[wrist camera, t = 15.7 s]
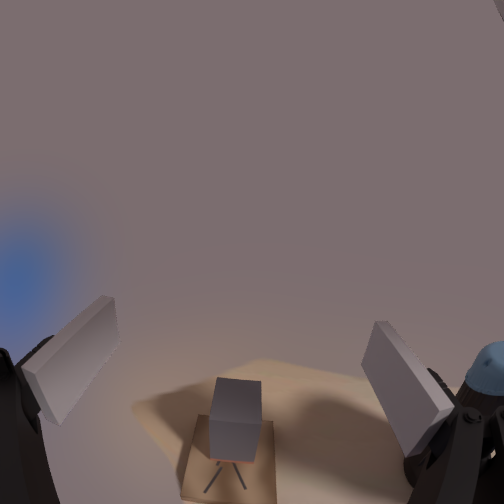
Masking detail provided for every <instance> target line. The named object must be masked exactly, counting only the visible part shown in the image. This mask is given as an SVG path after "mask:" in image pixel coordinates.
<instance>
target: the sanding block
mask: <svg viewBox="0 0 504 504" xmlns="http://www.w3.org/2000/svg"><path fill="white" fill-rule="evenodd" d="M261 425H262V403H261V381H251V380H239V379H228V378H219V377H217V380H216V385H215V391H214V396H213V401H212V406H211V411H210V417H209V441H210V460H214V461H222V462H233V463H246V464H254V460H255V455H256V450H257V446H258V441H259V436H260V431H261Z"/></svg>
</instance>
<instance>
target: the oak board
mask: <svg viewBox="0 0 504 504" xmlns="http://www.w3.org/2000/svg"><path fill="white" fill-rule="evenodd" d="M209 417H210V416H206V415H198V419H197V423H196V428H195V432H194V436H193V441H192V445H191V449H190V454H189V458H188V463H187V467H186V472H185V476H184V481H183V485H182V490H181V494H180V496H181V499H182V500H186V501H192V502H198V503H205V504H277V493H276V471H275V450H274V430H273V421H262V425H261V431H260V436H259V441H258V446H257V450H256V455H255V460H254V464H246V463H233V462H222V461H214V460H210V441H209Z"/></svg>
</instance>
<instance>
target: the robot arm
mask: <svg viewBox="0 0 504 504" xmlns="http://www.w3.org/2000/svg"><path fill="white" fill-rule="evenodd" d="M494 2H495V4H496V7H497V9H498V11H499V13H500V15H501V17H502V19H503V21H504V0H494ZM119 344H120V337H119V331H118V325H117V317H116V310H115V301H114V298H113V297H107V296H101V297H99V298H98V299H97V300H96V301H95V302H93V303H92V304H91V305H90V306H89V307H87V308H86V309H85V310H84V311H83V312H81V313H80V314H79V315H78V316H77V317H76V318H75V319H73V320H72V321H71V322H70V323H69V324H67V325H66V326H65V327H64V328H63V329H62V330H61V331H59V332H58V333H57V334H56V335H52V336H50V337H48V338H46V339H44V340H43V341H41V342H40V343H39V344H38V345H37V347H35V348H34V349H33V350H32V352H31V351H30V352H29V353H28V354H27V355H26V356H25V357H24V358H23V359H21V360H20V361H19V362H18V363H17V364H16V365H15V366H14V365H13V363H12V361H11V358H10V355H9V353H8V351H7V350H5V349H4V348H0V504H60V501H59V498H58V496H57V493H56V490H55V486H54V483H53V479H52V476H51V472H50V468H49V465H48V461H47V456H46V452H45V447H44V442H43V437H42V430H41V424H40V419H39V417H38V415H37V414H38V413H39V411H40V410H41V411H42V412H43V414H44V416H45V418H46V419H47V420H49V421H50V422H53V423H55V424H56V425H58V426H61V424H62V423H63V421H64V420H65V418H66V417H67V415H68V414H69V413H70V411H71V410H72V408H73V407H74V405H75V404H76V402H77V401H78V399H79V398H80V397H81V395H82V394H83V393H84V391H85V390H86V388H87V387H88V386H89V384H90V383H91V382H92V380H93V379H94V377H95V376H96V375H97V373H98V372H99V371H100V369H101V368H102V367H103V365H104V364H105V363H106V361H107V360H108V359H109V357H110V356H111V355H112V353H113V352H114V351H115V349H116V348H117V347H118V345H119ZM361 366H362V367H363V369H364V372H365V374H366V375H367V377H368V379H369V381H370V383H371V385H372V387H373V389H374V392H375V394H376V396H377V398H378V400H379V402H380V404H381V406H382V408H383V410H384V412H385V414H386V416H387V418H388V421H389V423H390V425H391V427H392V429H393V431H394V433H395V436H396V438H397V440H398V442H399V444H400V447H401V449H402V451H403V453H404V456H405V458H404V471H405V475H406V477H407V479H408V481H409V483H410V484H411V485H412V487H413V488H414V490H413V492H412V495H411V497H410V499H409V501H408V503H407V504H504V341H500V342H493V343H491V344H489V345H487V346H485V347H484V348H483V349H482V350H481V351H480V352H479V354H478V356H477V358H476V359H475V361H474V363H473V365H472V367H471V368H470V369H469V370H468V372H467V373H466V376H465V381H464V382H463V384H462V386H461V388H460V389H459V391H458V393H457V394H456V396H454V394H453V393H452V392H451V390H450V389H449V388H447V385H446V384H445V383H443V380H442V379H441V378H440V377H439V375H438V374H437V373H435V372H434V371H433V370H431V369H430V368H425V366H424V365H423V364H422V363H421V361H420V360H419V359H418V358H417V356H416V355H415V354H414V352H413V351H412V350H411V349H410V347H409V346H408V345H407V344H406V343H405V341H404V340H403V339H402V338H401V336H400V335H399V334H398V333H397V332H396V330H395V329H394V328H393V327H392V326H391V325H390V323H389V322H388V321H375V323H374V326H373V330H372V333H371V336H370V340H369V342H368V346H367V349H366V352H365V355H364V357H363V361H362V363H361ZM494 450H495V452H496V455H495V456H494V457H493V458H491V453H492V452H493V451H494Z"/></svg>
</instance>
